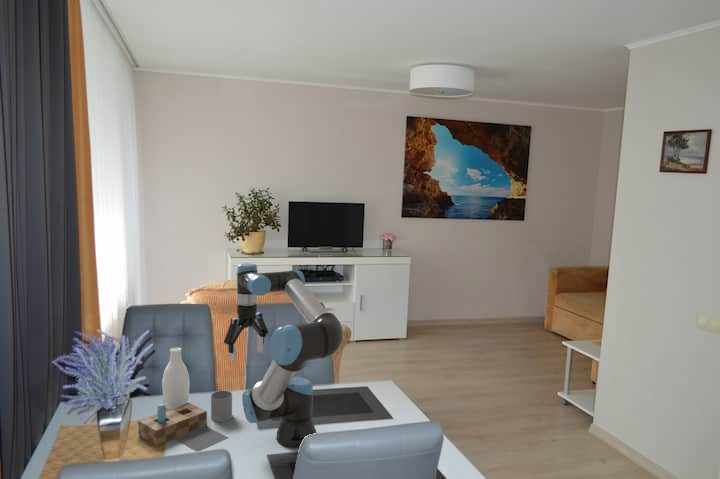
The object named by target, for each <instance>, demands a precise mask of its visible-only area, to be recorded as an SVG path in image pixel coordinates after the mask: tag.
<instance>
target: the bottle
mask: <svg viewBox="0 0 720 479" xmlns="http://www.w3.org/2000/svg"><path fill="white" fill-rule="evenodd" d="M169 353H170V354H169V362H168V363H167V365H166V366H165V368H164V372H163V375H162V379H161V385H162V386H161V388H162V398H163V404H166V411H167V410H170V409H172V408H175V407H178V406H181V405H183V404H186V403H189V396H190V395H189V394H190V384H191V382H190V381H191V380H190V374H189V372H188V367H187V366H186V365H185V363H184V361H183V360H182V348H181V347H172V348H170V349H169Z"/></svg>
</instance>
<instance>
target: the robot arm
mask: <svg viewBox="0 0 720 479" xmlns="http://www.w3.org/2000/svg"><path fill="white" fill-rule="evenodd" d="M236 268H237V271H236V287H237V288H236V301H237V305H236V313H237V318H236V317H231V318H230V325H229V327H228V329H227V332H226V334H225V338H224V340H223V343H224V344H225V345H227V346H228V353H229V360H230V361H231V362H233V363H234V362H237V345H236V342H237V340H238V338H239V337H240V335H241V333H242V331H243V330H245V329H246V328H250V327H252V329H253V330H254V331H255V332H256V333H257V334H258V335H256V352H257V353H260V354H263V353H264V343H265V337H267V334H269V329H268V328H267V326H266V323H265V321H264V318H263V313H262V312H259V311H258V310H257V308H258V304H257V302H258V296H259V297H261V296H265V295H267V294H269V293H279V292H280V293H281V292H283V293H284V294H285V295H286V297H287V298H288V299H289V300H290V301H291V303H292V304H293V305H294V307H295V308H296V309H297V311H298V312H299V313H300V315H301V316H302V317H303V318H304V320H305V321H306V322H307V323H306V322H305V323H300V324H287V325H285V326H280V327H278V328H276V329H275V330H274V332H273V333H272V334H271V337H270V344H269V346H270V347H269V348H270V349H269V350H270V353H271V358H272V361H271V363H270V365H269V367H268V369H267V371H266V372H265V375H264V376H263V378H262V379H261V380H260V381H258V382H257V383H256V384H255V385H254V387H253V388H252V389H247V390H245V391H243V393H242V396H241V399H242V408H243V412H244V416H245V419H246V420H247V422H248V423H249V424H258V423H260V422H265V421H268V420H269V421H270V420H274V419H279V418H280V419H281V420H280V421H279V424H278V429H277V431H276V441H277V443H278V444H279V445H281V446H284V447H287V448H295V449H297V448H300V447H299V446H300V444H301V442H302V440H303V439H304V437H305V436H307V435H309V434H313V433H316V434H317V429H316V427H315V424H314V423H315V422H314V421H313V402H314V400H313V399H314V398H313V395H314V392H313V384H312V382H311V380H309V379H306V378H304V377H301V376H295V374H296V373H297V372H299V371H301V370H303V369H304V368H305V367H306V365H307V364H308V362H310V361H315V360H319V359H326V358H329V357H331V356H332V355H334V354H335V353H336V352H338V350H339V348H340V347H341V344H342V343H343V337H344V331H343V329H344V328H343V326H342V324H341V322H340V320H339V319H338V317H337V316H336V315H335V314H334V313H332V312H328V310H326V308H325V307H324V306H323V304H321V303H320V301H319V300H318V299H317V298H316V296H315V295H314V294H313V293H312V292H311V291H310V289H308V287H307V286H306V284H305V283H306V280H305V276H304V273H303V272H302V271H300V270H292V269H291V270H288V271H286V270H285V271H271V272H258V267H257V264H255V263H253V262H252V263H249V262H248V263H240V264H238V265H237V267H236Z"/></svg>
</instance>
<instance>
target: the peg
mask: <svg viewBox="0 0 720 479" xmlns="http://www.w3.org/2000/svg"><path fill="white" fill-rule="evenodd" d="M156 406H157V408H156V409H157V410H156V412H157V413H156V414H157V422H158V423H159V424H161V423H164V422H166V411H167V409H166V404H164V402H163V403H159V404H158V403H157V405H156Z"/></svg>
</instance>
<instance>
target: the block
mask: <svg viewBox="0 0 720 479" xmlns="http://www.w3.org/2000/svg"><path fill="white" fill-rule="evenodd" d="M207 417H208V411H207V410H206V409H203V408H201V407H199V406H197V405H195V404H193V403H191V402H188V403H186V404H183V405H181V406H178V407H175V408H172V409H170V410H167V409H166V422H164V423H161V424H159V423H158V422H157V413H156V414H153V415H151V416H148V417H145V418H142V419H140V420H137V421H138V436H139V435H140V436H139V437H141V436H142V437H141V438H143V439H144V438H145V439H144V440H146V441H147V442H149V441H150V443H151V442H152V443H151V444H153V445H154V444H155V446H156V445H157V446H158V445H161V444H164V443H166V442H169V441H171V440H175V439H177V438H179V437H182V436H184V435H187V434H189V433H192V432H194V431H196V430H199V429H201V428H204V427H206V426H207V425H208V418H207Z"/></svg>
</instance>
